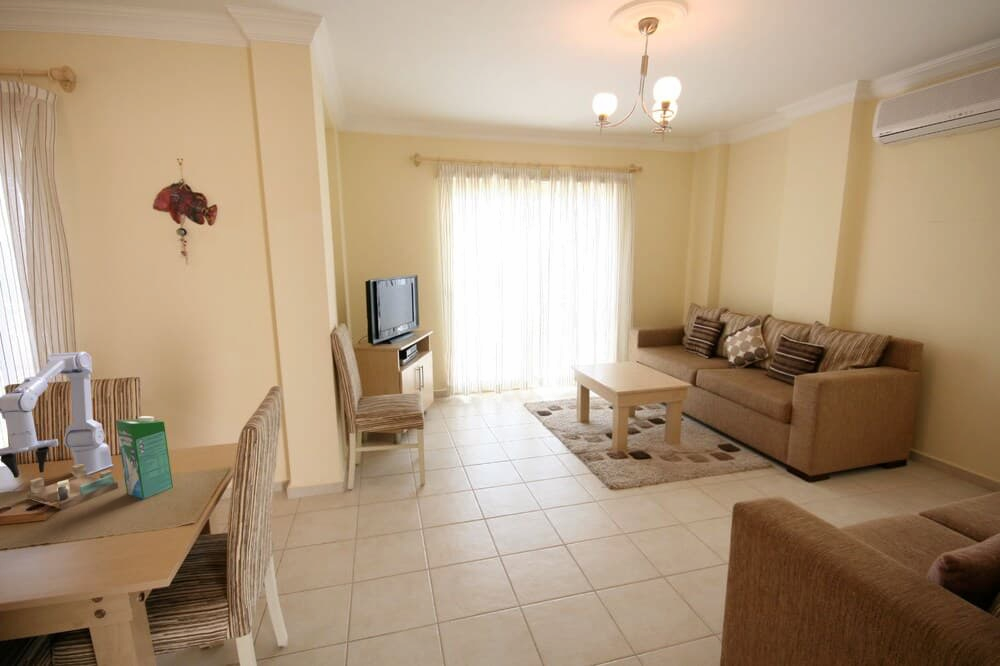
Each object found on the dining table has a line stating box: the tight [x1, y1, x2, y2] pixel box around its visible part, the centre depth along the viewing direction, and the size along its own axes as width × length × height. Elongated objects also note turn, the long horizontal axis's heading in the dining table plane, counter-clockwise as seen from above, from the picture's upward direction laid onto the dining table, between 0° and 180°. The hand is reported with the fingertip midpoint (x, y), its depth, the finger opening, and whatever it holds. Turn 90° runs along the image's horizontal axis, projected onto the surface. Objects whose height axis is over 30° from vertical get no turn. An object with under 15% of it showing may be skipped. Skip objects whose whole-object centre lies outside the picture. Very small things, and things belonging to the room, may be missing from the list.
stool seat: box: [26, 464, 119, 511], centre depth 149 cm, size 15×19×6 cm
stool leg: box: [56, 479, 70, 500], centre depth 145 cm, size 10×2×4 cm, turn 43°
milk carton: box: [115, 415, 174, 500], centre depth 149 cm, size 9×9×25 cm
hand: (29, 473), depth 141 cm, fingers open, 5 cm apart
